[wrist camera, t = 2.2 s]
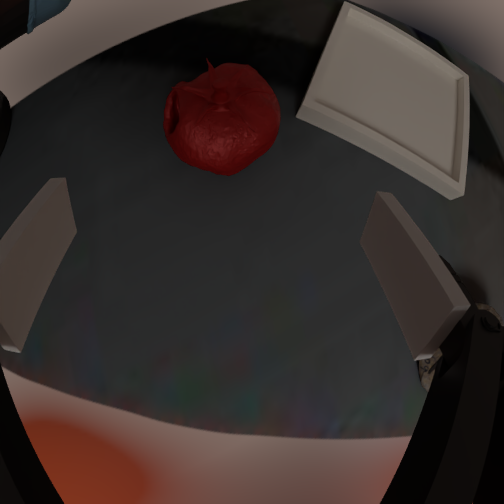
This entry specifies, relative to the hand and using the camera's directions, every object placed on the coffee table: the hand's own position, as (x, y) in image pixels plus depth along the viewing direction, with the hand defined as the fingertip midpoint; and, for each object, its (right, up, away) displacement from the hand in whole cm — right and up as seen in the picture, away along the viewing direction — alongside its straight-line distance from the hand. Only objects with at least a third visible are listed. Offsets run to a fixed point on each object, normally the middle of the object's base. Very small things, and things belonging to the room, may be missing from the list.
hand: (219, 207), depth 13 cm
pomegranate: (-2, +9, +16) cm, 19 cm away
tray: (+18, +17, +19) cm, 32 cm away
